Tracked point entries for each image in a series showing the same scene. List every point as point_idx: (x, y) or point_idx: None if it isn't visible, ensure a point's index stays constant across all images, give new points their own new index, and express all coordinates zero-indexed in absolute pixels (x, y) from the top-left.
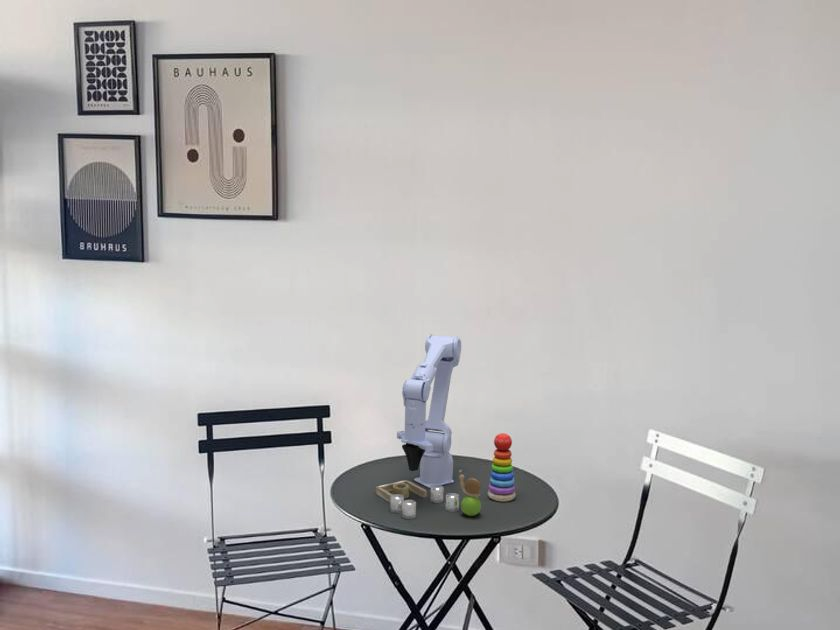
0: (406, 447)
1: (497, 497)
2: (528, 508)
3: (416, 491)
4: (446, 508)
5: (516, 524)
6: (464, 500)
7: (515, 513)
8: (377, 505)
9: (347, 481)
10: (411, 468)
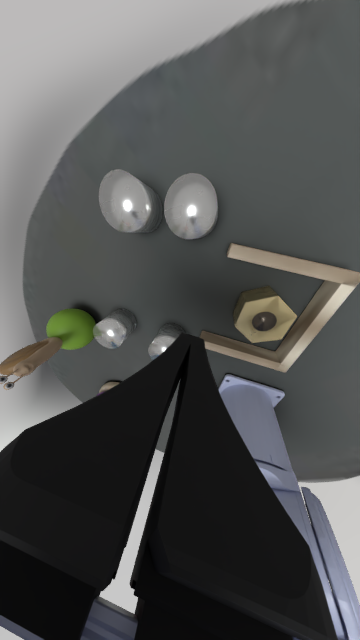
0: (107, 567)
1: (107, 385)
2: (77, 380)
3: (230, 342)
4: (123, 311)
5: (36, 332)
6: (61, 323)
7: (69, 361)
8: (277, 191)
9: None
10: (178, 337)
